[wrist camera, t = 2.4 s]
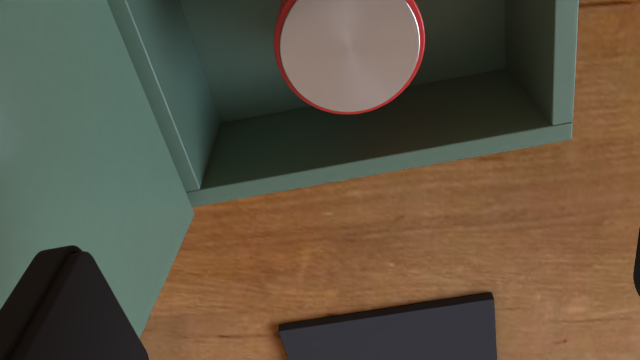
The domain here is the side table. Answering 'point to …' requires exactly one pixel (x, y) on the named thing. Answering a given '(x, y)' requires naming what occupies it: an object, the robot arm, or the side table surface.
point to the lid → (83, 153)
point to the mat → (399, 333)
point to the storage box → (346, 129)
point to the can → (348, 51)
